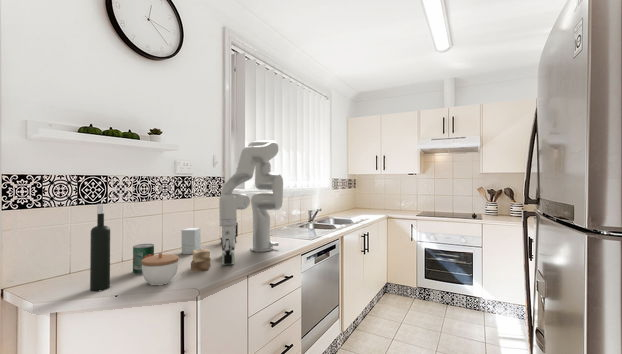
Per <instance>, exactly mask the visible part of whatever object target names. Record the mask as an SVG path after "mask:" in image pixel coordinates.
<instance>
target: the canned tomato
mask: <svg viewBox="0 0 622 354" xmlns="http://www.w3.org/2000/svg"><path fill="white" fill-rule="evenodd" d="M150 256H155V244H153V243H141V244H135V245H133V246H132V274H134V275H143V274H142V264H141V260H142V259H144V258H146V257H150Z"/></svg>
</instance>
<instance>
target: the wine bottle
mask: <svg viewBox="0 0 622 354" xmlns="http://www.w3.org/2000/svg"><path fill="white" fill-rule="evenodd" d="M96 215H97V220H96V221H97V222H96V223H97V225H96V226H93V227H92V228H91V230H90V244H89V245H90V252H89V255H90V259H89V261H90V263H89V266H90V267H89V268H90V269H89V275H90V276H89V291H90V290H91V292H100V291H99V290H102V291H105V290H104V289H106V290H108V289H109V287H110V288H111V228H110V227H109V226H107V225H105V203H97V205H96ZM107 288H108V289H107Z"/></svg>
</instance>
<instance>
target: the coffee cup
mask: <svg viewBox="0 0 622 354" xmlns="http://www.w3.org/2000/svg"><path fill="white" fill-rule="evenodd" d="M219 240H220V244H221V243H222V244H221V250H222V253H223V251H225V249H224V248H223V239H222V236H221V237H220V238H219ZM235 240H236V241H237V237H235ZM235 249H236V248H235V247H234V248H233V247H232V250H234V251H235Z"/></svg>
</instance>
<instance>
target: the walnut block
mask: <svg viewBox="0 0 622 354" xmlns="http://www.w3.org/2000/svg"><path fill="white" fill-rule="evenodd" d="M211 262H212V259H211V257H210V261H203V262H194V260H193V259H192V261H191V262H190V272H203V271H204V272H205V271H206V272H207V271H209V270H210V268H211V267H212V266H211Z"/></svg>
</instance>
